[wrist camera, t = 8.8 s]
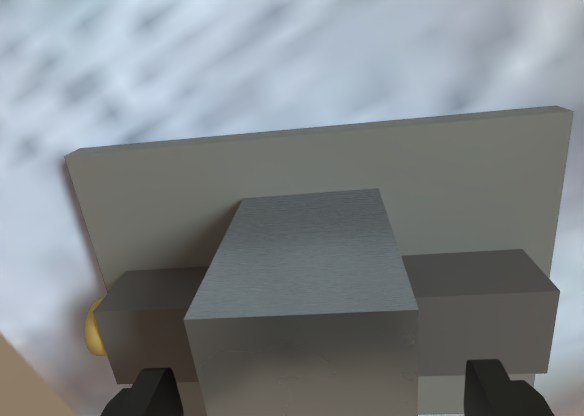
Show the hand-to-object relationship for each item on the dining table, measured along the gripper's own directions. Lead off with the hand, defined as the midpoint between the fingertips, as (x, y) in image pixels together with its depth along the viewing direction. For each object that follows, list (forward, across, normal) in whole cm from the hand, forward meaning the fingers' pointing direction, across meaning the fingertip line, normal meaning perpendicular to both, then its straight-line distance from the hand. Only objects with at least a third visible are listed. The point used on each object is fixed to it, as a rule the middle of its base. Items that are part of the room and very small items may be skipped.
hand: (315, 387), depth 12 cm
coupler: (+5, 0, 0) cm, 5 cm away
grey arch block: (+4, 0, 0) cm, 4 cm away
